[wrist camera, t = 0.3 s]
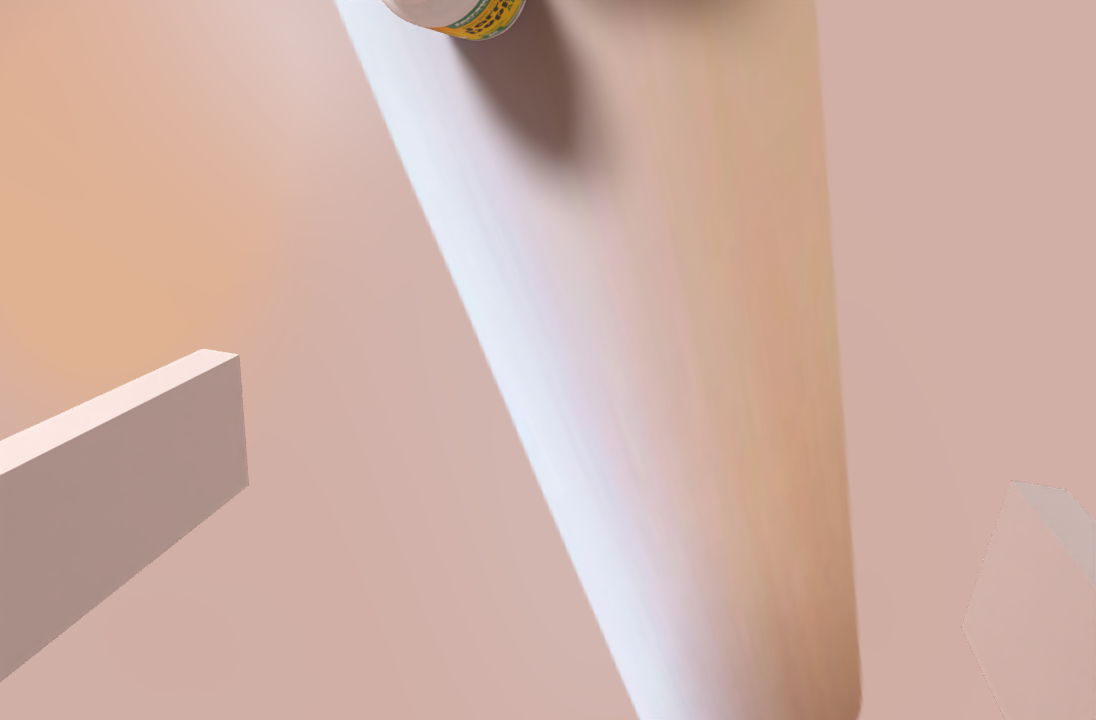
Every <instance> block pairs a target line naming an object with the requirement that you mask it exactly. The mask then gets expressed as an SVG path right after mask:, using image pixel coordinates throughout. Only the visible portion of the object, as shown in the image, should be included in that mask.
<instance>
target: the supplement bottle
mask: <svg viewBox="0 0 1096 720" xmlns="http://www.w3.org/2000/svg"><path fill="white" fill-rule="evenodd" d="M382 1H383V2H384V3H385V4H386V6H387V7H388V8H389V9H390V10H391V11H392V12H393V13H395V14H396V15H397V16H399V17H400V18H402V19H404V20H405V21H407V22H409V23H412V24H415V25H418V26H421V27H425V28H428V29H431V30H435V31H438V32H441V33H445V34H448V35H451V36H455V37H458V38H462V39H466V40H474V41H479V40H486V39H491V38H493V37H496V36H498V35H500V34H502V33H504V32H505V31H507V30H508V29H509V28H510V27H511V26H512V25H513V24H514V22H515V21H516V20H517V19H518V17H519V16H520V14H521V12H522V10H523V8H524V5H525V2H526V0H382Z"/></svg>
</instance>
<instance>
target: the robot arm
mask: <svg viewBox="0 0 1096 720" xmlns="http://www.w3.org/2000/svg"><path fill="white" fill-rule="evenodd" d="M248 485H249V481H248V467H247V454H246V439H245V426H244V412H243V399H242V385H241V372H240V359H239V355H238V354H232V353H226V352H220V351H214V350H208V349H201V350H199V351H196V352H194V353H192V354H190V355H188V356H186V357H183V358H181V359H179V360H177V361H175V362H172V363H170V364H168V365H166V366H164V367H161V368H159V369H157V370H155V371H153V372H150V373H148V374H146V375H144V376H142V377H139V378H137V379H135V380H133V381H131V382H129V383H126V384H124V385H122V386H120V387H118V388H115V389H113V390H111V391H109V392H107V393H105V394H102V395H100V396H98V397H96V398H94V399H91V400H89V401H87V402H85V403H83V404H81V405H78V406H76V407H74V408H72V409H69V410H68V411H65V412H63V413H61V414H59V415H56V416H54V417H52V418H50V419H48V420H45V421H43V422H41V423H39V424H37V425H34V426H32V427H30V428H28V429H26V430H24V431H21V432H19V433H17V434H15V435H13V436H10V437H8V438H6V439H4V440H2V441H0V682H1V681H2V680H4V679H5V678H6V677H7V676H9V675H10V674H11V673H12V672H14V671H15V670H16V669H17V668H19V667H20V666H21V665H23V664H24V663H25V662H26V661H28V660H29V659H30V658H31V657H32V656H34V655H35V654H36V653H38V652H39V651H40V650H41V649H43V648H44V647H45V646H46V645H48V644H49V643H50V642H52V641H53V640H54V639H55V638H57V637H58V636H59V635H60V634H62V633H63V632H64V631H65V630H67V629H68V628H69V627H70V626H72V625H73V624H74V623H75V622H77V621H78V620H79V619H81V618H82V617H83V616H84V615H86V614H87V613H88V612H89V611H90V610H92V609H93V608H94V607H96V606H97V605H98V604H99V603H100V602H102V601H103V600H104V599H106V598H107V597H108V596H110V595H111V594H112V593H113V592H114V591H115V590H117V589H118V588H119V587H121V586H122V585H123V584H125V583H126V582H127V581H128V580H130V579H131V578H132V577H134V576H135V575H136V574H137V573H139V572H140V571H141V570H142V569H144V568H145V567H146V566H147V565H148V564H150V563H151V562H152V561H154V560H155V559H156V558H158V557H159V556H160V555H161V554H162V553H164V552H165V551H166V550H168V549H169V548H170V547H171V546H173V545H174V544H175V543H176V542H178V541H179V540H180V539H181V538H183V537H184V536H185V535H187V534H188V533H189V532H190V531H192V530H193V529H194V528H195V527H197V525H199V524H200V523H202V522H203V521H204V520H205V519H207V518H208V517H209V516H210V515H212V514H213V513H214V512H216V511H217V510H218V509H219V508H220V507H222V506H223V505H224V504H226V503H227V502H228V501H229V500H230V499H232V498H233V497H234V496H236V495H237V494H238V493H239V492H241V491H242V490H243V489H245V487H247V486H248ZM961 628H962V630H963V632H964V635H965V637H966V639H967V640H968V643H969V645H970V647H971V649H972V651H973V654H974V656H975V658H976V660H977V662H978V664H979V666H980V668H981V671H982V673H983V674H984V677H985V679H986V681H987V683H988V685H989V687H990V690H991V692H992V694H993V695H994V698H995V700H996V702H997V704H998V706H999V709H1000V711H1001V713H1002V715H1003V717H1004V719H1005V720H1096V521H1095V520H1094V519H1093V518H1092V517H1091V516H1090V514H1088V512H1087V511H1086V510H1085V509H1084V508H1083V507H1082V506H1081V505H1080V504H1079V503H1078V502H1077V500H1076V499H1075V498H1074V497H1073V496H1072V495H1071V494H1070V493H1069V492H1068V491H1067V490H1066V489H1061V488H1054V487H1048V486H1042V485H1035V484H1030V483H1023V482H1017V481H1011V482H1010V485H1009V487H1008V490H1007V493H1006V496H1005V499H1004V502H1003V505H1002V508H1001V511H1000V514H999V517H998V519H997V523H996V525H995V528H994V531H993V534H992V537H991V540H990V543H989V546H988V549H987V552H986V555H985V558H984V560H983V563H982V566H981V569H980V572H979V575H978V578H977V581H976V584H975V587H974V590H973V593H972V596H971V599H970V602H969V604H968V608H967V610H966V613H965V616H964V619H963V622H962V625H961Z"/></svg>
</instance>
